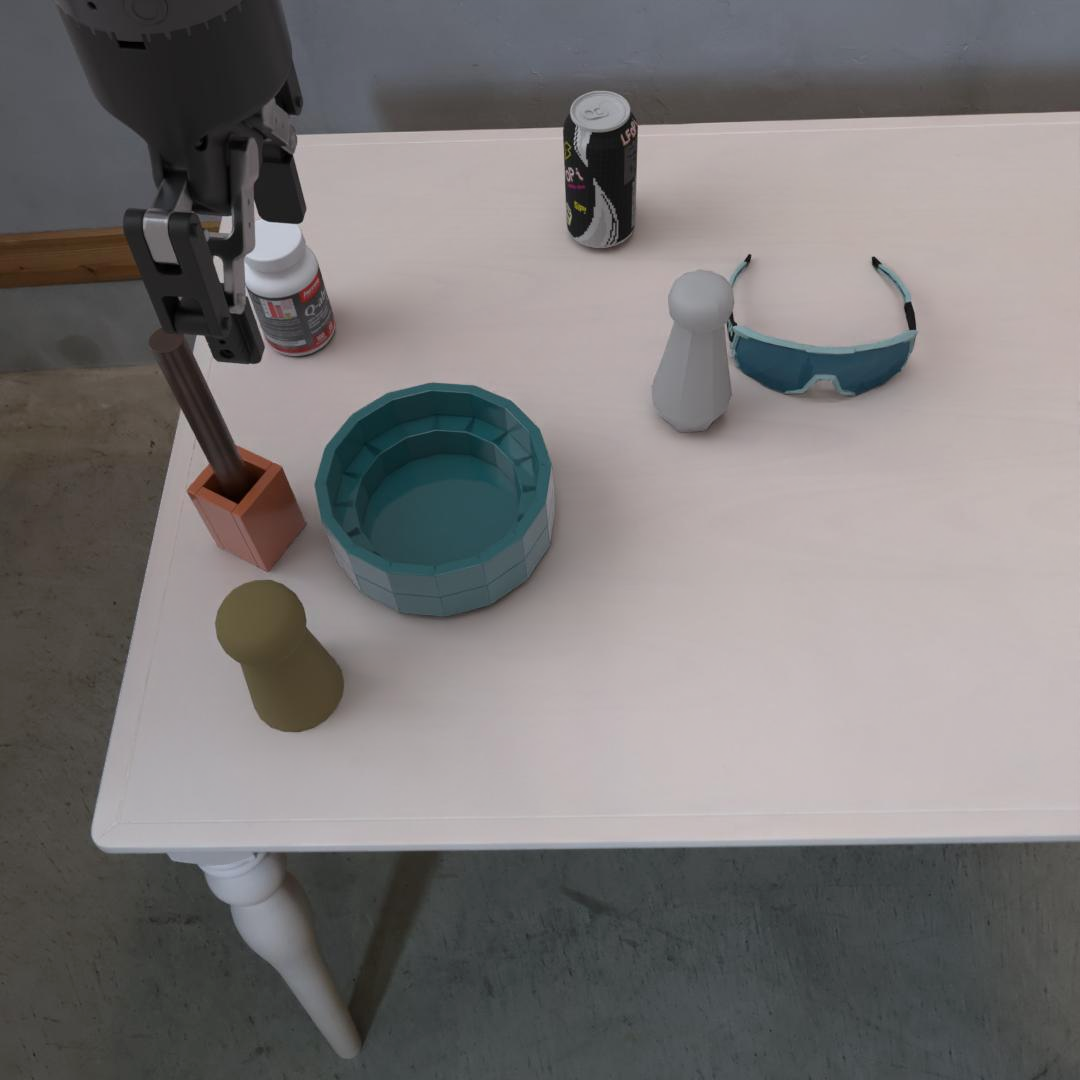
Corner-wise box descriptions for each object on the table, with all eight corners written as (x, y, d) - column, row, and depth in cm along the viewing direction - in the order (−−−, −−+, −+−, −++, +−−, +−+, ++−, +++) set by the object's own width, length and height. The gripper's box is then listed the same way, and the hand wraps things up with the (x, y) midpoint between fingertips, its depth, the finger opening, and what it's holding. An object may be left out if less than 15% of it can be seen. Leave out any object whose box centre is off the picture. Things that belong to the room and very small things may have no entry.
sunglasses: (724, 400, 84) (730, 349, 80) (721, 277, 94) (726, 225, 90) (917, 406, 83) (932, 354, 79) (894, 280, 93) (907, 228, 89)
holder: (216, 546, 80) (185, 490, 74) (256, 498, 82) (228, 440, 76) (268, 572, 79) (240, 517, 73) (306, 523, 81) (282, 466, 75)
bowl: (291, 561, 79) (269, 514, 74) (412, 406, 86) (400, 353, 81) (480, 657, 74) (470, 613, 69) (593, 484, 81) (591, 434, 76)
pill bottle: (333, 357, 89) (304, 264, 80) (262, 360, 89) (225, 268, 81) (339, 304, 92) (312, 209, 83) (270, 307, 92) (236, 213, 84)
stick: (240, 535, 80) (140, 345, 63) (257, 514, 81) (163, 321, 64) (262, 547, 79) (168, 357, 62) (279, 526, 80) (191, 333, 63)
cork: (309, 748, 71) (264, 674, 62) (233, 706, 73) (179, 628, 64) (362, 671, 74) (326, 589, 65) (287, 633, 76) (242, 548, 67)
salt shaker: (645, 437, 83) (651, 314, 72) (655, 378, 86) (662, 251, 75) (725, 446, 82) (743, 323, 71) (732, 386, 85) (750, 259, 74)
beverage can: (556, 219, 96) (550, 97, 86) (617, 199, 97) (618, 76, 87) (583, 263, 93) (580, 142, 83) (646, 241, 94) (651, 119, 84)
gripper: (113, -168, 42) (223, 171, 56) (-26, 87, 35) (141, 401, 49) (310, -157, 42) (372, 182, 56) (209, 103, 35) (309, 416, 49)
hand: (263, 285), depth 52 cm, fingers open, 8 cm apart
